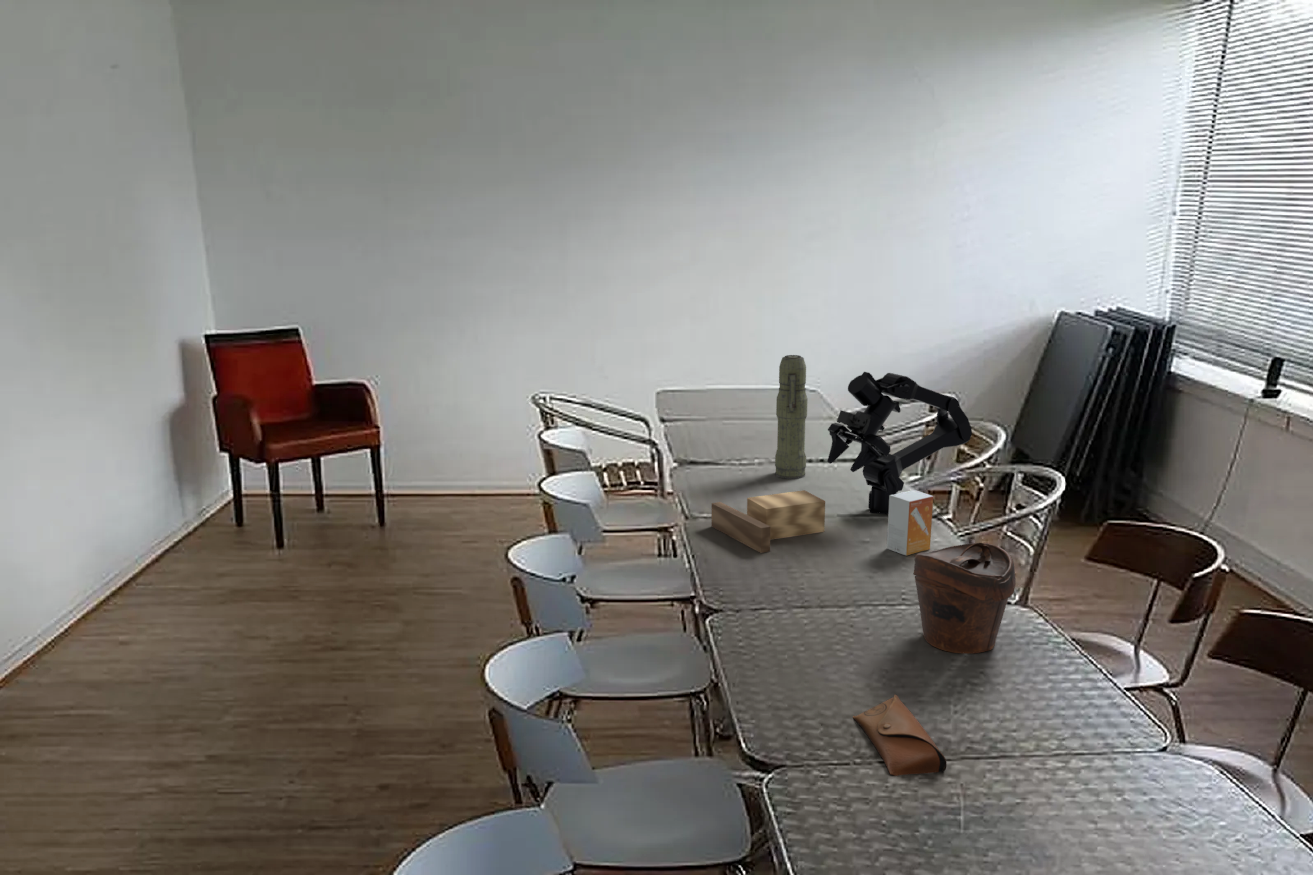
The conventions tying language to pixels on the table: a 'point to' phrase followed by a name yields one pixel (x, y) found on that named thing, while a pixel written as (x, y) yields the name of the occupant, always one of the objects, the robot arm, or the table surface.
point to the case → (963, 595)
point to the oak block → (788, 513)
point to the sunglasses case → (901, 739)
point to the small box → (909, 522)
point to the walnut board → (741, 527)
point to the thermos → (791, 418)
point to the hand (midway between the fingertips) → (840, 466)
